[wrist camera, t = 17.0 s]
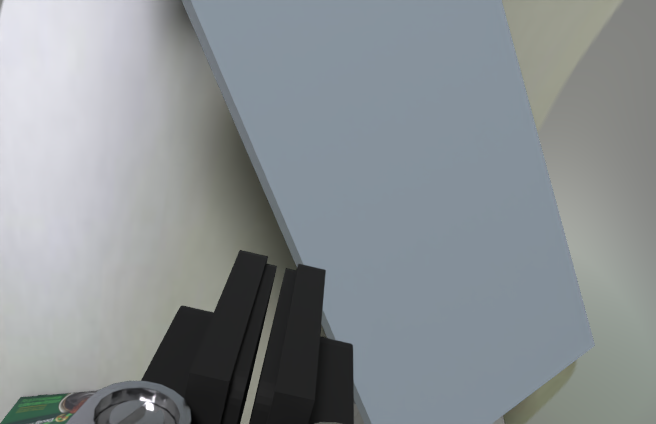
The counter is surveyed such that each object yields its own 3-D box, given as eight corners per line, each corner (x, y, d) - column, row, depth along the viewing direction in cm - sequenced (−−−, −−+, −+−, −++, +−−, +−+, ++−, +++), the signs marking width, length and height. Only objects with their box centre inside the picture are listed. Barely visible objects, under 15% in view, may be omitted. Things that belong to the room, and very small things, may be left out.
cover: (578, 338, 31) (595, 345, 30) (388, 480, 27) (401, 492, 26) (375, -390, 22) (390, -412, 21) (35, -338, 18) (36, -362, 17)
